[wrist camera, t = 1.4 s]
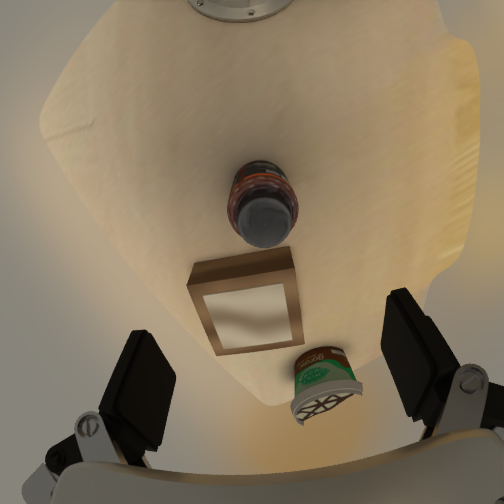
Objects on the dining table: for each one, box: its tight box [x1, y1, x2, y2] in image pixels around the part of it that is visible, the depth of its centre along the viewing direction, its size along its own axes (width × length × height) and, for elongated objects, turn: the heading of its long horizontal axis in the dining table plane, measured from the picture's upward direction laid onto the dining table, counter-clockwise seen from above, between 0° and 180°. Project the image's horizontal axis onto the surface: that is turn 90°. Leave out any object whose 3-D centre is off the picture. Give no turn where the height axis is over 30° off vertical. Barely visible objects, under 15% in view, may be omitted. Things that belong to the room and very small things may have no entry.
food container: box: [291, 346, 363, 425], centre depth 39 cm, size 12×6×10 cm, turn 138°
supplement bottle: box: [227, 160, 299, 248], centre depth 25 cm, size 6×6×11 cm
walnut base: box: [187, 246, 305, 356], centre depth 34 cm, size 12×12×5 cm
